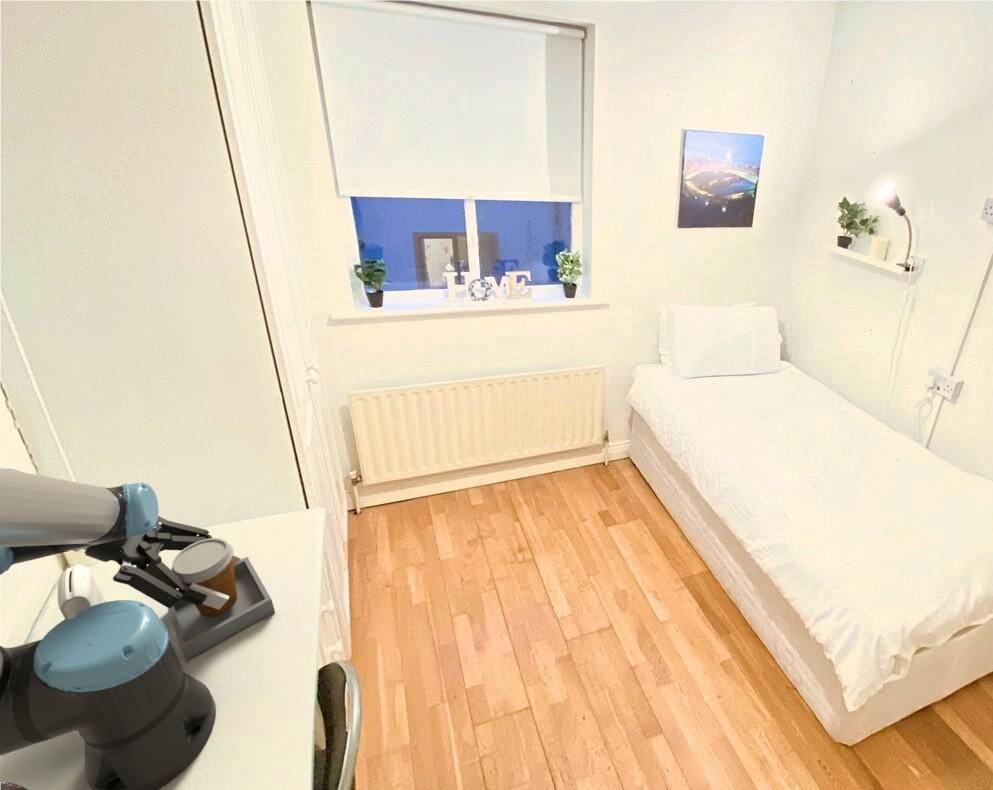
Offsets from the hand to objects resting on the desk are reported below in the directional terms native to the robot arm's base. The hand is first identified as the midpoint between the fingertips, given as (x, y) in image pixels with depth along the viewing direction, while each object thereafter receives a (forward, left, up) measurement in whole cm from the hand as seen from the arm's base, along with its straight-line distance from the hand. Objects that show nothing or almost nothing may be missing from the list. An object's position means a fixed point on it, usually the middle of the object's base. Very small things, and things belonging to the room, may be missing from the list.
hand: (231, 581), depth 84 cm
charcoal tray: (+1, +3, -7) cm, 7 cm away
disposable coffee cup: (+1, +3, -5) cm, 6 cm away
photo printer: (+13, +21, -7) cm, 26 cm away
